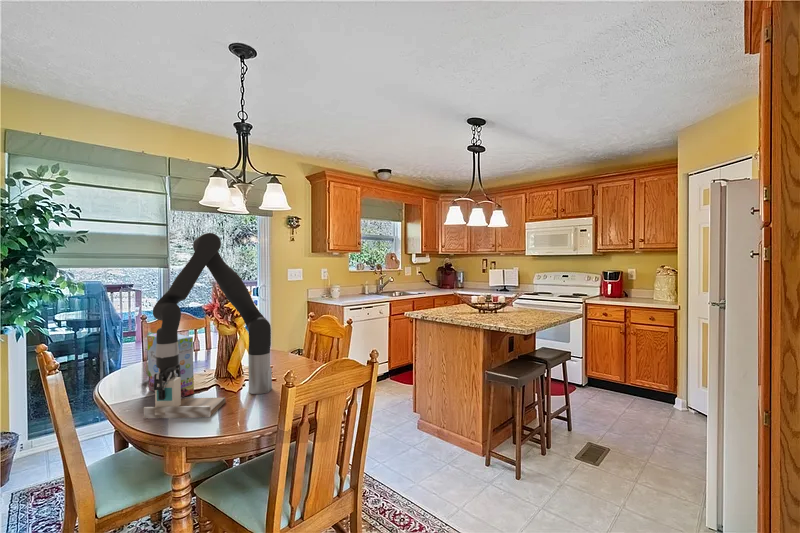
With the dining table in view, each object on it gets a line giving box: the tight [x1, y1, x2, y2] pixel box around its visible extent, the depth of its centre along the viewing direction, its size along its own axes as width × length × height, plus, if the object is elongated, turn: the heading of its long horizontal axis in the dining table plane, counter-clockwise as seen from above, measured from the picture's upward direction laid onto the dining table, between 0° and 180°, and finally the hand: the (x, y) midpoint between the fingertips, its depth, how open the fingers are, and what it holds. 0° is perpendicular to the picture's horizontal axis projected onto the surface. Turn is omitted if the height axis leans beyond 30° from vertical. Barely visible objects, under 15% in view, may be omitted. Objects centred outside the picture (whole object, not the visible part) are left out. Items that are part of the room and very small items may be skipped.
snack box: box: [146, 332, 195, 398], centre depth 172 cm, size 22×9×26 cm, turn 62°
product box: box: [154, 377, 181, 407], centre depth 150 cm, size 5×7×11 cm
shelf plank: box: [143, 397, 226, 419], centre depth 152 cm, size 24×15×4 cm, turn 93°
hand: (168, 395), depth 150 cm, fingers open, 8 cm apart
